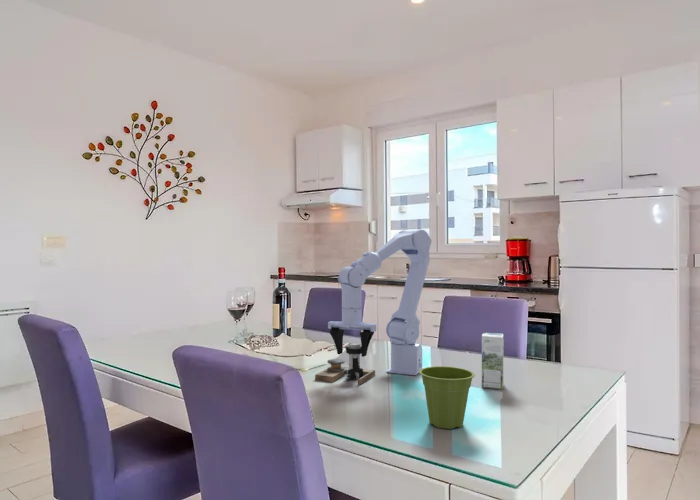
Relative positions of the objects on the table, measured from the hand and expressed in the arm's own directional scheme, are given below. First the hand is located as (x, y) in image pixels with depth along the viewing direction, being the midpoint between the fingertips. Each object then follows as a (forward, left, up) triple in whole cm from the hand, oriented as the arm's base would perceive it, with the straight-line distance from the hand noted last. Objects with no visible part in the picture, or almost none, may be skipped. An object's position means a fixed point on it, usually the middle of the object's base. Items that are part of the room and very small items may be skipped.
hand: (351, 354), depth 144 cm
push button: (0, -1, -8) cm, 8 cm away
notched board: (+3, -1, -7) cm, 8 cm away
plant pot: (-33, +25, -8) cm, 42 cm away
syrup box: (-38, -9, -8) cm, 40 cm away
